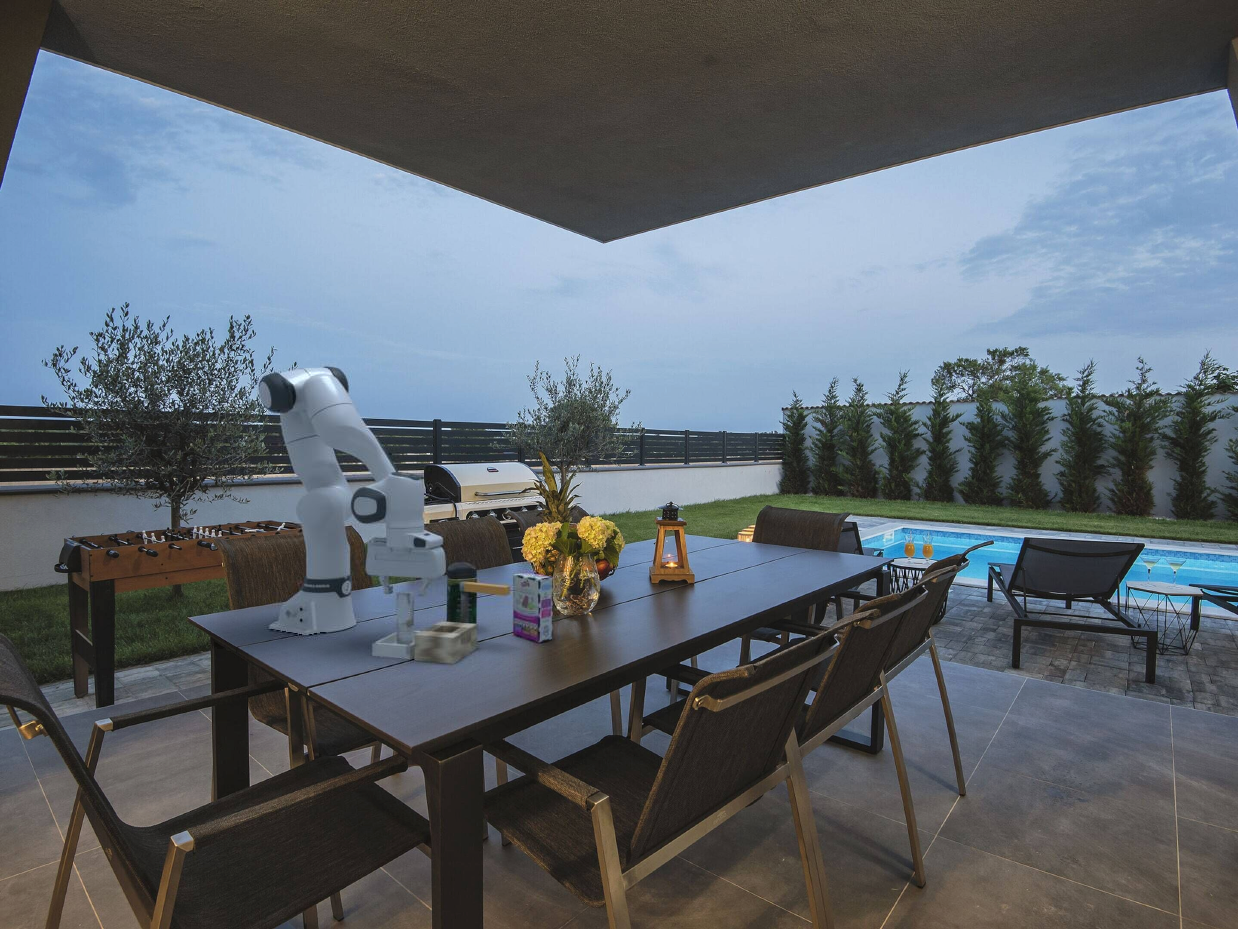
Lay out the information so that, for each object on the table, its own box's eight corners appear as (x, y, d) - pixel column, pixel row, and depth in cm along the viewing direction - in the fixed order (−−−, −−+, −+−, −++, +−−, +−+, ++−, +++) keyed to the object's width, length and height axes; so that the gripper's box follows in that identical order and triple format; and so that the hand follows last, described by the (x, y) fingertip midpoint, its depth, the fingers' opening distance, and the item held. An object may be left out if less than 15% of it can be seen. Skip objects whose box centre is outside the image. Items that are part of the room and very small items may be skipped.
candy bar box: (554, 639, 159) (554, 576, 159) (539, 643, 156) (539, 579, 155) (527, 631, 167) (527, 571, 167) (512, 635, 163) (512, 573, 163)
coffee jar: (479, 634, 164) (479, 565, 164) (448, 637, 161) (448, 566, 161) (474, 625, 173) (474, 559, 173) (445, 627, 170) (445, 561, 170)
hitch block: (414, 660, 142) (414, 603, 142) (450, 639, 159) (450, 588, 159) (453, 663, 140) (453, 606, 140) (486, 642, 157) (486, 590, 157)
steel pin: (393, 647, 149) (393, 594, 149) (402, 642, 153) (402, 590, 153) (407, 648, 148) (407, 594, 148) (416, 643, 152) (416, 591, 152)
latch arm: (505, 595, 150) (505, 587, 150) (457, 590, 155) (457, 582, 155) (510, 593, 152) (510, 585, 152) (463, 589, 157) (463, 581, 157)
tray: (372, 656, 146) (372, 643, 145) (401, 641, 157) (401, 629, 157) (409, 659, 143) (409, 646, 143) (436, 644, 155) (436, 632, 155)
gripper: (359, 538, 149) (359, 595, 149) (435, 541, 145) (435, 599, 145) (375, 535, 155) (375, 589, 156) (449, 538, 151) (448, 594, 151)
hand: (405, 594), depth 150 cm, fingers open, 8 cm apart
